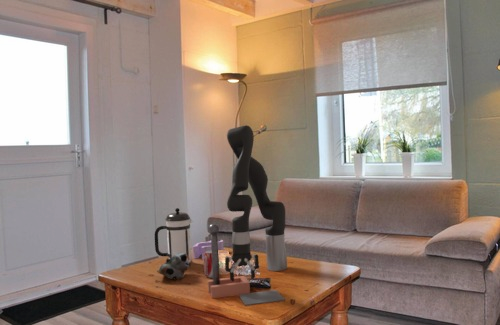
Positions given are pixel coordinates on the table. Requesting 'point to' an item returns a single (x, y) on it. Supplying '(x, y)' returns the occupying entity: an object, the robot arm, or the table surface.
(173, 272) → the dark grey lumpy piece
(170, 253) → the coffee press
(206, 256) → the soda can
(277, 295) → the felt mat
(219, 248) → the clip
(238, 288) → the c link
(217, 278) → the stand
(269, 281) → the table surface
